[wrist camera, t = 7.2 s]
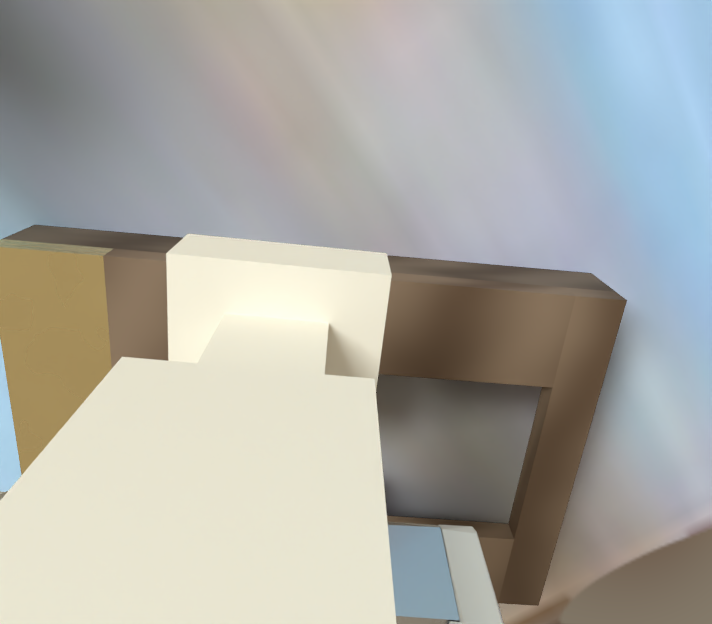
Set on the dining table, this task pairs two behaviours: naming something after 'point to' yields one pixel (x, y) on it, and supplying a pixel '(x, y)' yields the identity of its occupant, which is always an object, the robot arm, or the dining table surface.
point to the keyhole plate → (398, 357)
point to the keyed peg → (220, 457)
